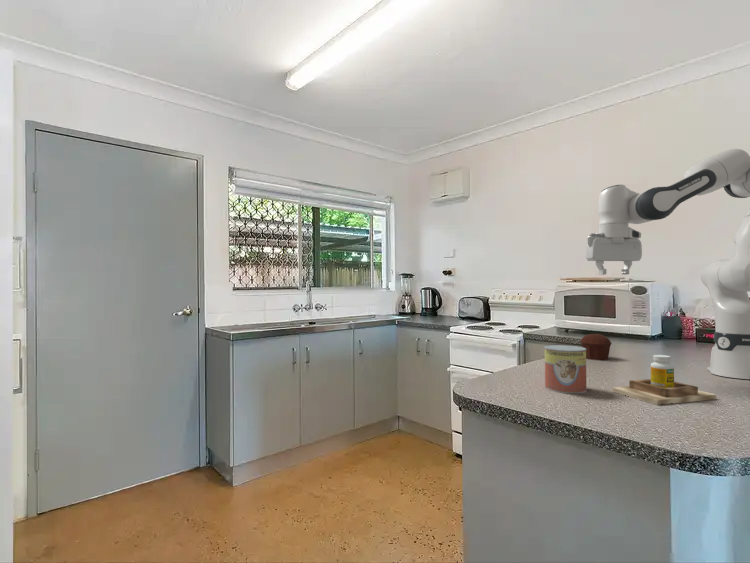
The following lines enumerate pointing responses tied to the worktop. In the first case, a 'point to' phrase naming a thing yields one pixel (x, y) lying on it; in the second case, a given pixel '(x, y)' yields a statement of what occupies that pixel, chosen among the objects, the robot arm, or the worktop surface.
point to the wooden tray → (663, 392)
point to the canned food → (565, 368)
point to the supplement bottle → (662, 371)
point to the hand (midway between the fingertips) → (614, 274)
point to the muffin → (596, 346)
